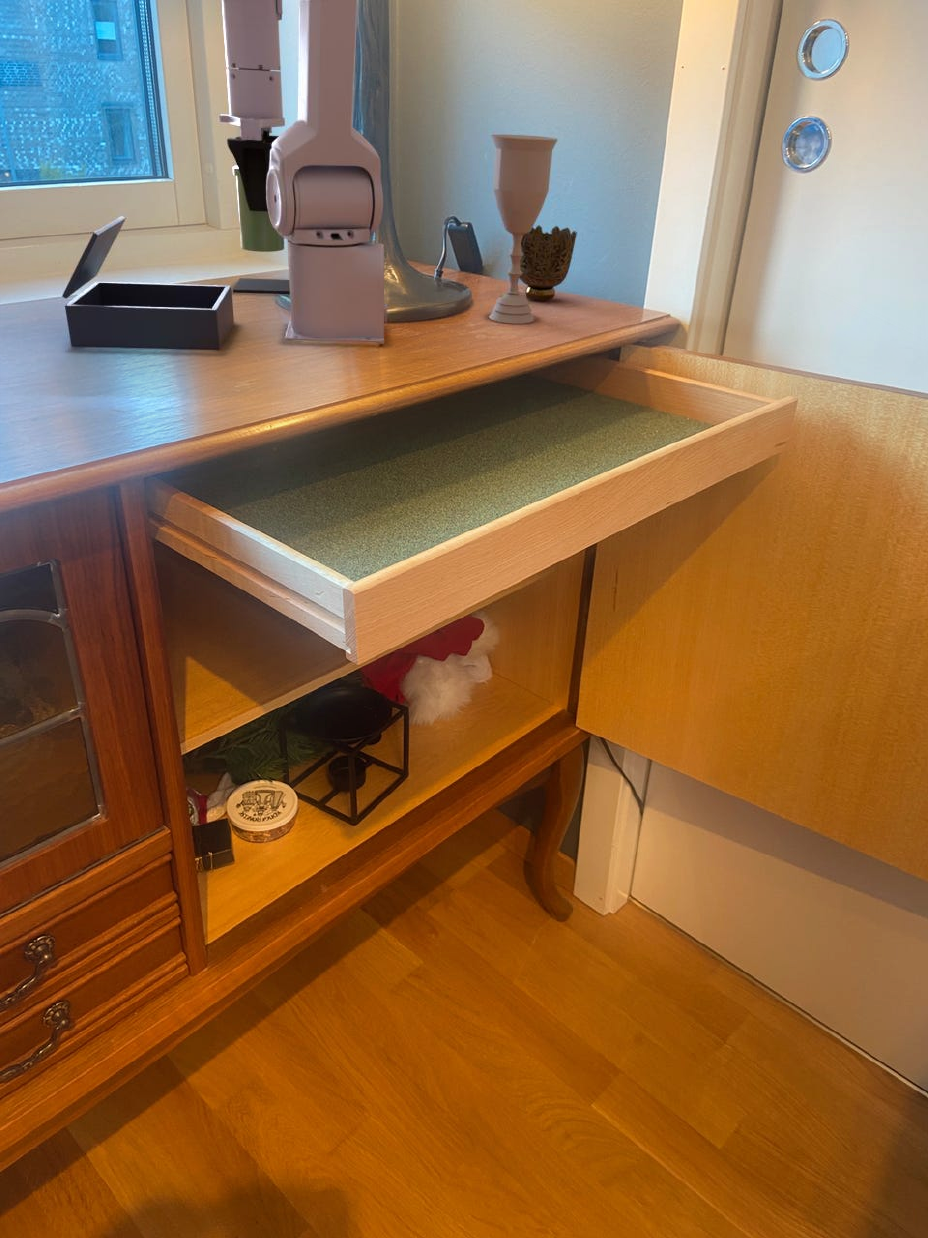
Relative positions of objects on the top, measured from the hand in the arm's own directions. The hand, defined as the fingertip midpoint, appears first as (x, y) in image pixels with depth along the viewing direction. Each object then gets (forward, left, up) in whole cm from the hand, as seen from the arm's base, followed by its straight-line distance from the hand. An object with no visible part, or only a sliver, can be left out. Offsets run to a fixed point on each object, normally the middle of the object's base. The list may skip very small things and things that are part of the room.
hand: (261, 207), depth 106 cm
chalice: (-28, +12, -9) cm, 32 cm away
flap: (+13, +25, -2) cm, 28 cm away
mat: (0, 0, -9) cm, 9 cm away
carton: (+8, +25, -9) cm, 28 cm away
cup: (-33, +1, -9) cm, 34 cm away
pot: (0, 0, -4) cm, 4 cm away
